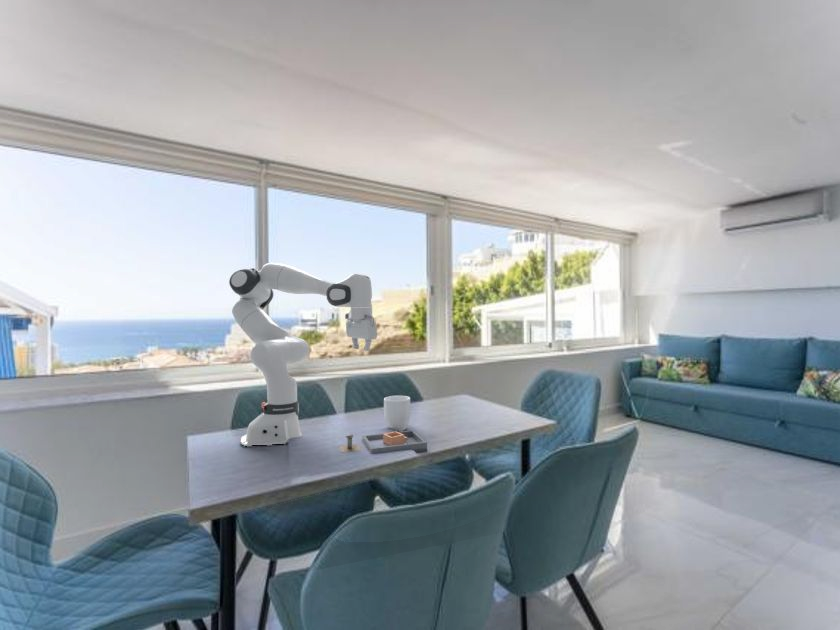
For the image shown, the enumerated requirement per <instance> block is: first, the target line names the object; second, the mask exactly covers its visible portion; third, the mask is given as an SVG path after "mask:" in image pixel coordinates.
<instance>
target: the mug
mask: <svg viewBox="0 0 840 630" xmlns="http://www.w3.org/2000/svg"><path fill="white" fill-rule="evenodd" d="M383 413H384V414H383V415H384V416H383V417H384V419H385V420H384V421H385V424H386V426H387V428H388V429H392V430H393V432H395V431H396V432H398V431H399V432H400V431H406V429H407V428H408V426H409V422H410V418H411V397H410V396H407V395H390V396H386V397H384V398H383Z"/></svg>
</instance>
